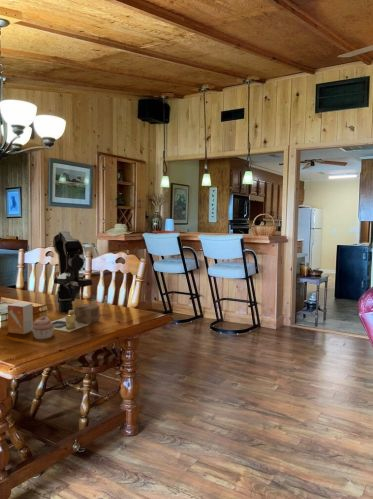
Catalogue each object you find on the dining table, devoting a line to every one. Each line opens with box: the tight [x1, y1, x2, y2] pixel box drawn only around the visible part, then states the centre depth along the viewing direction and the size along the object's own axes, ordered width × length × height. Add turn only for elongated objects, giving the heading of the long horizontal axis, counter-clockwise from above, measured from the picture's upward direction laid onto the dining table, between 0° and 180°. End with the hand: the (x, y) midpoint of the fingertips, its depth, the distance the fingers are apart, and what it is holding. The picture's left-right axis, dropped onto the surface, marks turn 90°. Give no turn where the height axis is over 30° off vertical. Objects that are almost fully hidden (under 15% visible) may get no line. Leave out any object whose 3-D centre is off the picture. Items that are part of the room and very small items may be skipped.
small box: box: [7, 301, 34, 335], centre depth 176 cm, size 8×6×13 cm
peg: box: [65, 313, 76, 330], centre depth 180 cm, size 4×4×6 cm
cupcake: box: [31, 315, 55, 340], centre depth 169 cm, size 9×9×10 cm
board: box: [51, 309, 98, 333], centre depth 189 cm, size 18×20×5 cm
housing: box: [75, 303, 100, 325], centre depth 191 cm, size 8×7×7 cm
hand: (73, 299), depth 194 cm, fingers closed
